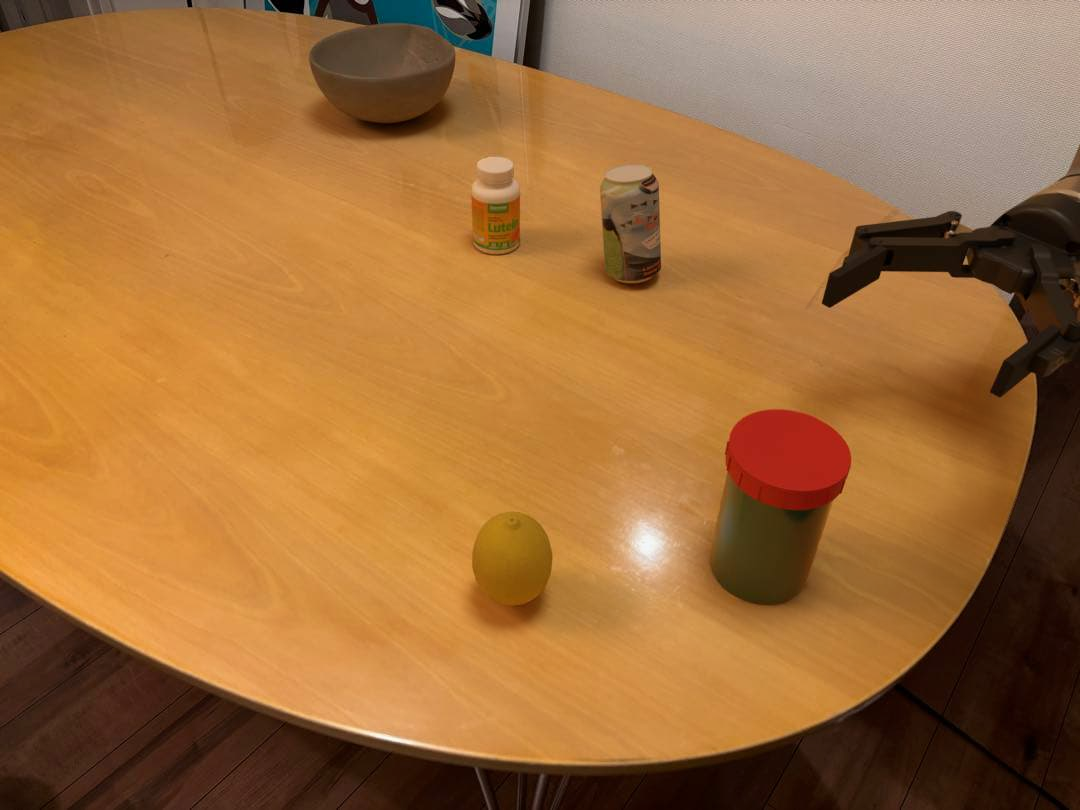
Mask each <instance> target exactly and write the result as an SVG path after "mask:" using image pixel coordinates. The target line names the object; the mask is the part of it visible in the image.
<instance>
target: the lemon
mask: <svg viewBox="0 0 1080 810" xmlns="http://www.w3.org/2000/svg"><path fill="white" fill-rule="evenodd" d="M471 554H472V555H471V556H472V557H471V564H472V565H471V567H472V572H473V575H474V578H475V581H476V584H477V585H478V587H479V588H480V590H481V591H482V592H483V594H484V595H485V596H487V597H488V598H489V599H490V600H492V601H493V602H496V603H498V604H501V605H504V606H520V605H524V604H526V603H528V602H531V601H532V600H534V599H536V597H538V596H539V595H540V594H541V593H542V591H544V589H545V588H546V586H547V585H548V582H549V579H550V577H551V575H552V570H553V568H552V567H553V550H552V547H551V542H550V538H549V536H548V533H547V532H546V530H545V529H544V527H543V525H542V524H541V523H540V522H539V521H537V519H535V518H534V517H532V516H531V515H529V514H526V513H524V512H519V511H504V512H501V513H499V514H496V515H494V516H492V517H490V518H489V519H488V520H487V521H486V522H485V523H484V524H483V525H482V527H481V528H480V529H479V531H478V533H477V535H476V538H475V540H474V544H473V547H472V553H471Z"/></svg>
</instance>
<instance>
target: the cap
mask: <svg viewBox="0 0 1080 810" xmlns="http://www.w3.org/2000/svg"><path fill="white" fill-rule="evenodd" d="M724 456H725V467H726V472H728V473H729V475H730V477H731V478H732V480H733V481H734V482H735V484H736V485H737V486H738V487H739V488H740V489H741V490H742V491H744V492H745V493H746V494H748V495H749V496H751V497H752V498H754V499H756V500H758V501H760V502H762V503H765V504H767V505H770V506H773V507H777V508H782V509H788V510H809V509H814V508H818V507H821V506H824V505H827V504H828V503H830V502H831V501H833V502H834V501H835V499H837V497H839V495H842V494H843V491H844V490H843V489H844V487H845V485H846V481H847V479H848V477H849V473H850V470H851V467H852V454H851V450H850V446H849V445H848V444H847V442H846V440H845V439H844V437H843V436H842V435H841V434H840V433H839V432H838V431H837V430H836V429H835V428H833V427H832V426H831V425H829V424H828V423H827V422H825V421H823V420H821V419H819V418H817V417H815V416H812V415H810V414H807V413H804V412H799V411H795V410H791V409H784V408H783V409H781V408H777V409H776V408H772V409H764V410H758V411H755V412H751V413H750V414H748V415H745V416H744V417H742V418H741V419H740V420H738V421H737V422H736V423H735V424H734V425H733V427H732V429H731V431H730V433H729V439H728V440H727V441H726V446H725V451H724Z"/></svg>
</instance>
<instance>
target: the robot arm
mask: <svg viewBox="0 0 1080 810" xmlns="http://www.w3.org/2000/svg"><path fill="white" fill-rule="evenodd" d="M962 217H963V215H962V213H960V212H958V211H956V210H948V211H946V212H942V213H941V214H939V215H936V216H931V217H923V218H914V219H913V218H912V219H904V220H897V221H888V222H887V221H886V222H879V223H872V224H864V225H858V226H856V227H855V229H854V232H853V236H852V240H851V244H850V247H849V251H848V254H847V255H846V256H845V257H844V259H843V261H842V264H841V266H840V267H838V268H836V269H835V270H832V271H831V272H829V274H828V278H827V282H826V285H825V288H824V293H823V296H822V301H821V305H823V306H825V307H826V308H829V309H831V308H832V307H834V306H836V305H838V304H840V303H841V302H842V301H844V300H846V299H847V298H849V297H851V296H852V295H854V294H857V292H859V291H861V290H863V289H864V288H866V287H868V286H870V285H871V284H872V283H875V282H876V281H878V280H879V279H880V277H881V274H882V272H896V273H897V272H898V273H899V272H900V273H902V272H903V273H906V272H907V273H948V274H949V276H951V278H954V279H956V278H957V279H966V278H967V279H976V280H978V281H980V282H983V283H986V284H990V285H993V286H994V287H995V288H997V289H999V290H1000V291H1002V292H1005V293H1007V294H1010V295H1012V294H1015V296H1017V297H1018V299H1019V300H1020V301H1019V302H1020V303H1021V305H1022V307H1023V310H1024V311H1025V312H1030V315H1031V317H1032V319H1033V321H1034V323H1035V325H1036V328H1037V330H1038V333H1037V334H1036V335H1035V336H1033V337H1032V338H1031V339H1030V340H1028V341H1027V342H1026V343H1024V344H1023V345H1021V347H1019V348H1018V349H1016V350H1015V351H1014V352H1013V353H1011V354H1010V355H1009V356H1008V357H1006V358H1005V359H1004V360H1003V361H1002V363H1001V366H1000V367H999V370H998V372H997V375H996V376H995V379H994V381H993V384H992V386H991V388H990V390H989V393H990V394H992V395H994V396H996V397H997V398H1000V399H1001V398H1002V397H1003V396H1004V395H1006V394H1007V393H1008V392H1009V391H1011V390H1012V389H1013V388H1014V387H1016V386H1017V385H1018V384H1019V383H1020V382H1022V381H1023V380H1024V379H1025V378H1027V377H1028V376H1029V375H1030V374H1031V373H1032V374H1034V375H1037V376H1038V377H1040V378H1046V377H1049V376H1050V375H1051V374H1053V373H1055V371H1056V370H1057V369H1059V368H1060V367H1062V365H1066V364H1068V363H1069V362H1076V363H1079V364H1080V144H1078V148H1077V150H1076V151H1075V154H1074V157H1073V160H1072V161H1071V164H1070V166H1069V168H1068V171H1067V172H1066V174H1065V175H1064V176H1062V177H1061V178H1059V179H1058V180H1056V181H1054V182H1053V183H1051V184H1049V185H1047V186H1046V187H1044V188H1042V189H1041V190H1039V191H1037V192H1035V193H1033V194H1032V195H1030V196H1029V197H1028V198H1026V199H1025V200H1023V201H1021V202H1020V203H1018V204H1016V205H1015V206H1013V207H1011V208H1010V209H1008V210H1006V211H1005V212H1003V213H1002V214H1001V215H1000V216H999V217H998V218H996V219H995V220H994V221H993V223H991V224H990V225H989V226H985V227H978V228H974V229H971V228H969V227H968V226H966V225H964V224H961V221H962ZM965 260H966V261H967V264H964V263H965ZM1067 291H1070V292H1071V293H1072V294H1073V299H1074V300H1075V301H1074V304H1073V306H1074V307H1075V308H1076V309H1078V311H1077V315H1075V313H1074V311H1073V309H1072V308H1071V305H1070V303H1069V301H1068V299H1067V298H1066V296H1065V294H1064V293H1065V292H1067Z"/></svg>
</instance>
